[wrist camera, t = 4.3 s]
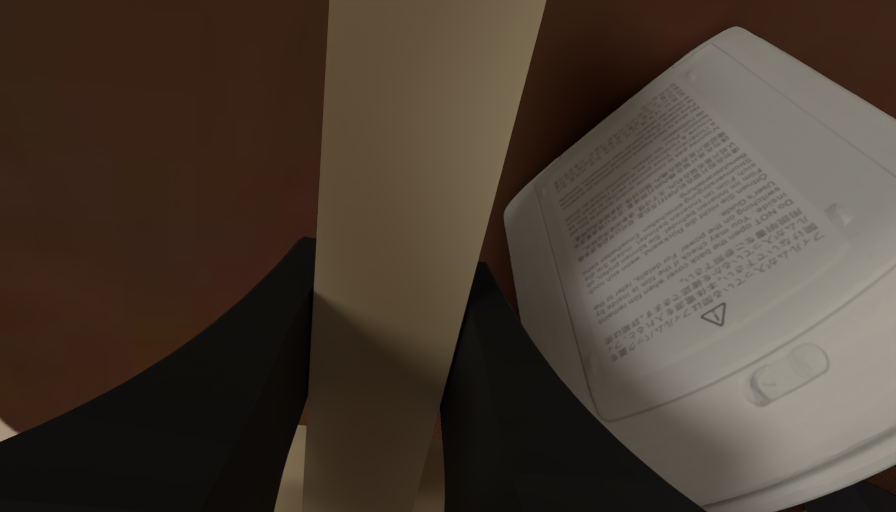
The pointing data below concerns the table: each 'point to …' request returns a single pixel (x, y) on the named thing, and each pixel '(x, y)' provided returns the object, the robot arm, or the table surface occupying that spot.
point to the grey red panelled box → (854, 500)
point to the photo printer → (724, 277)
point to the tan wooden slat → (400, 237)
